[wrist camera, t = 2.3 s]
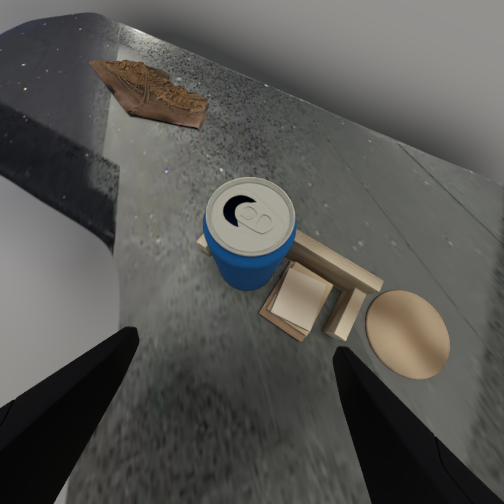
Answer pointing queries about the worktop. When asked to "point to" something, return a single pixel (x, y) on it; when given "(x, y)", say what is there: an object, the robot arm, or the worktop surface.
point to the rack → (331, 280)
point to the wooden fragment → (151, 93)
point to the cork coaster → (407, 334)
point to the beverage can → (249, 230)
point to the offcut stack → (296, 300)
